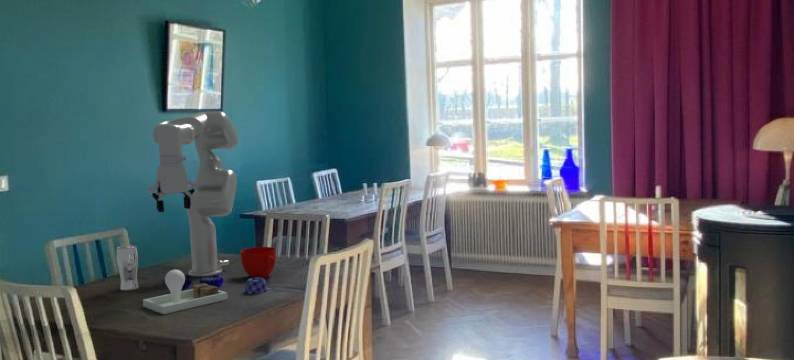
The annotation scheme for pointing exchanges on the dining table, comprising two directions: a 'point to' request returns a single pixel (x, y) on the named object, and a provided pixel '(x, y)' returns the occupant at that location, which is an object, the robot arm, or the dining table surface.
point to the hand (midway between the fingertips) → (174, 210)
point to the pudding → (256, 286)
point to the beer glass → (127, 267)
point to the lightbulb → (175, 284)
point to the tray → (181, 301)
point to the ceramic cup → (258, 261)
